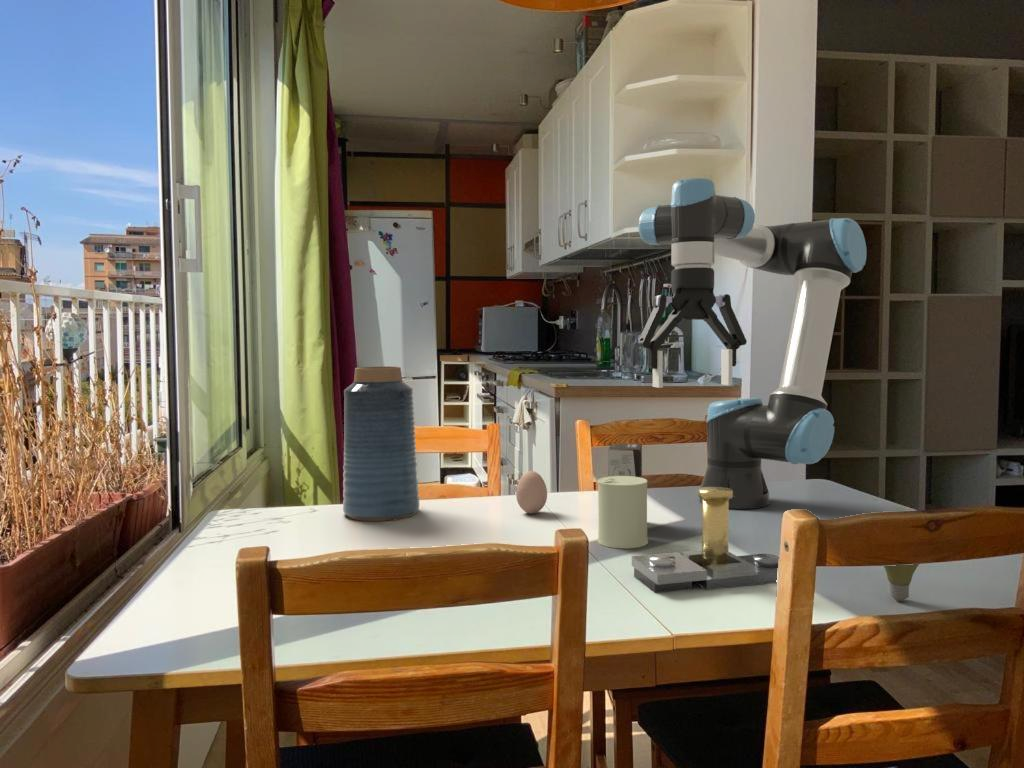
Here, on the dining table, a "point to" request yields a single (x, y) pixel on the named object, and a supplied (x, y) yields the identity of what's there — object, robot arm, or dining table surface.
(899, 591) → the light bulb
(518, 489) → the egg
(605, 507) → the can
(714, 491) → the pin
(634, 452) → the coffee box
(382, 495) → the vase
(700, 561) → the link plates
